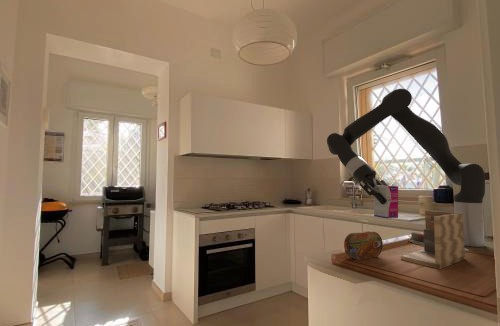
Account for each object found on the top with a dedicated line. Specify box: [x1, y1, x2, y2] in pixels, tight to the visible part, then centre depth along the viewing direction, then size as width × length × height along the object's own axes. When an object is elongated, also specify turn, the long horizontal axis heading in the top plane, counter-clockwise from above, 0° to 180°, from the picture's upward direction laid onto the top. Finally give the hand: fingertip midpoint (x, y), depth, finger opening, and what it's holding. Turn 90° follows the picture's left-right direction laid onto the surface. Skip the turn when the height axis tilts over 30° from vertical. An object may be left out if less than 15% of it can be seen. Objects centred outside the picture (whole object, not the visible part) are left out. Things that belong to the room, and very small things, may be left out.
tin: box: [343, 231, 384, 261], centre depth 89 cm, size 15×3×8 cm, turn 114°
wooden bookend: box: [400, 209, 466, 270], centre depth 88 cm, size 19×11×15 cm, turn 124°
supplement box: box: [373, 185, 399, 219], centre depth 97 cm, size 6×6×12 cm
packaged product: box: [410, 231, 469, 253], centre depth 106 cm, size 18×5×10 cm
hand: (390, 202), depth 96 cm, fingers closed on supplement box, 6 cm apart
